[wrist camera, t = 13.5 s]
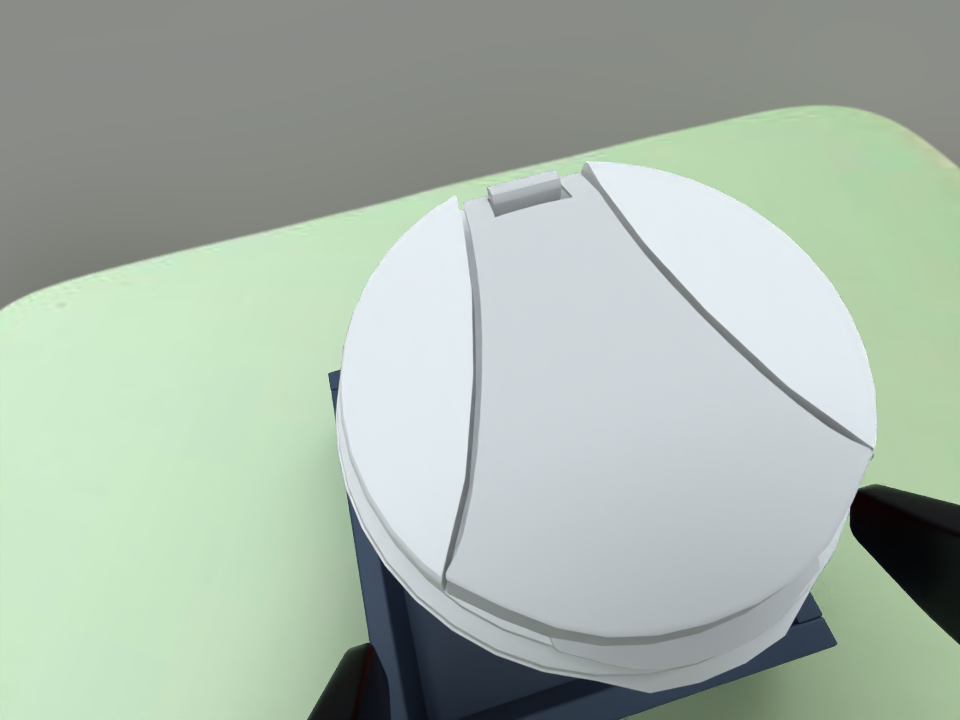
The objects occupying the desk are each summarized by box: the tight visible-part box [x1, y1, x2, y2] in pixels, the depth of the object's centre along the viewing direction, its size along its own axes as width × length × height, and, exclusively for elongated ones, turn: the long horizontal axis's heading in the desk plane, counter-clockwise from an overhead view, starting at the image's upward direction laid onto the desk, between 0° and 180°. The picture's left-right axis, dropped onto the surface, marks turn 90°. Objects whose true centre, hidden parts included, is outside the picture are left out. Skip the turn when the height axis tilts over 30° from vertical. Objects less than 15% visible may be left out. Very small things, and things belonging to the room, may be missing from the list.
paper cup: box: [336, 161, 877, 693], centre depth 12 cm, size 8×8×14 cm
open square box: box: [328, 370, 837, 720], centre depth 18 cm, size 14×14×4 cm
